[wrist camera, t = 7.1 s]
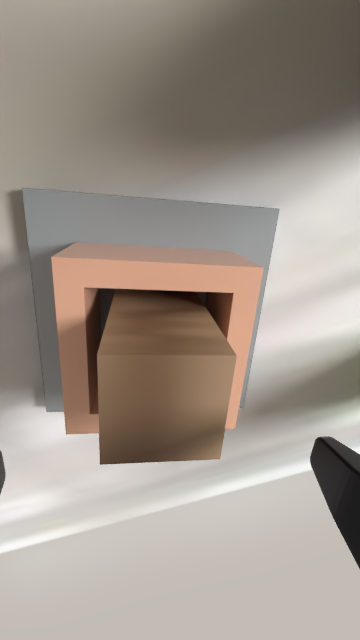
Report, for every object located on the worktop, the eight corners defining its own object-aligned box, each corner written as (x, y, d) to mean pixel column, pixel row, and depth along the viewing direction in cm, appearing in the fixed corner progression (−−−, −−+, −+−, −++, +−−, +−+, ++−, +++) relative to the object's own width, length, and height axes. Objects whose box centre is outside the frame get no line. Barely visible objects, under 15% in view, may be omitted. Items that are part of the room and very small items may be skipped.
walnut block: (192, 285, 18) (237, 355, 10) (186, 351, 20) (219, 458, 11) (117, 282, 17) (97, 354, 9) (117, 350, 19) (100, 464, 11)
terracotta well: (272, 208, 18) (331, 210, 12) (239, 399, 23) (270, 461, 17) (28, 188, 16) (-31, 180, 10) (50, 402, 21) (18, 474, 15)
